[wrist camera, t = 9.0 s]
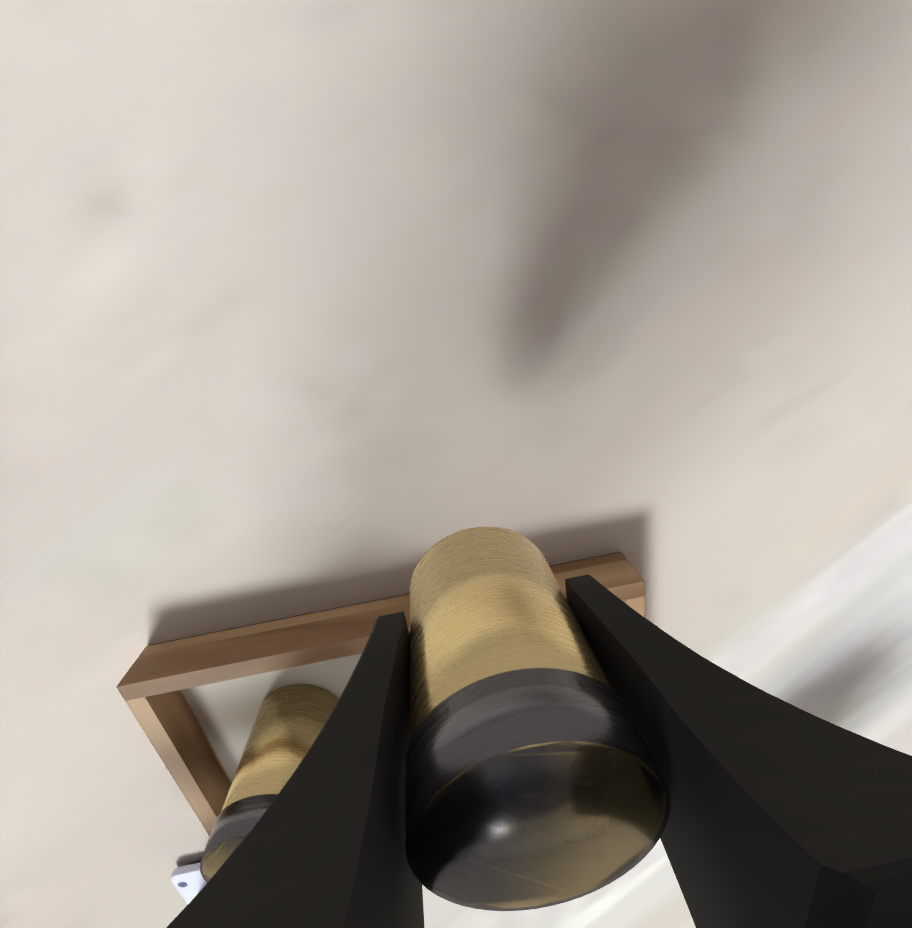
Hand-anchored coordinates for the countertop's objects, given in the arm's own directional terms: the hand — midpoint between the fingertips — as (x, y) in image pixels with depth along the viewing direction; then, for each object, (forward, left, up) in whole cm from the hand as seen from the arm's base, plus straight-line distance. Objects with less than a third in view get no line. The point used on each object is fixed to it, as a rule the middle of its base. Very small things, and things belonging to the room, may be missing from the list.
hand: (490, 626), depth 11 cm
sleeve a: (-10, +9, -7) cm, 15 cm away
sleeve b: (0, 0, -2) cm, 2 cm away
